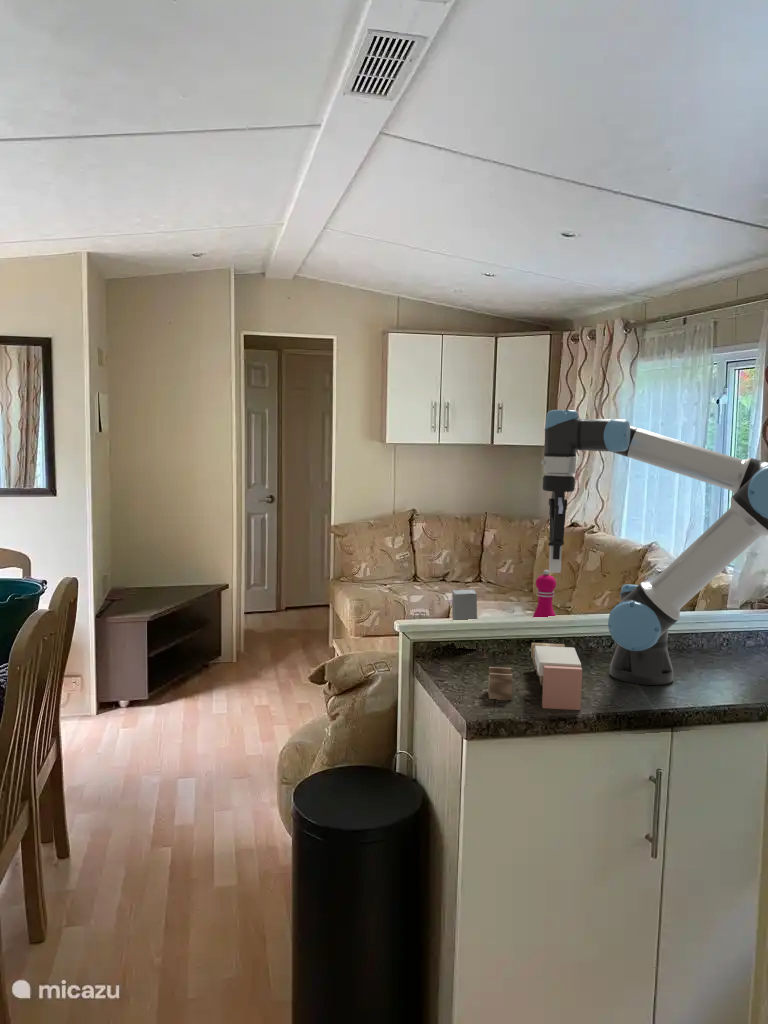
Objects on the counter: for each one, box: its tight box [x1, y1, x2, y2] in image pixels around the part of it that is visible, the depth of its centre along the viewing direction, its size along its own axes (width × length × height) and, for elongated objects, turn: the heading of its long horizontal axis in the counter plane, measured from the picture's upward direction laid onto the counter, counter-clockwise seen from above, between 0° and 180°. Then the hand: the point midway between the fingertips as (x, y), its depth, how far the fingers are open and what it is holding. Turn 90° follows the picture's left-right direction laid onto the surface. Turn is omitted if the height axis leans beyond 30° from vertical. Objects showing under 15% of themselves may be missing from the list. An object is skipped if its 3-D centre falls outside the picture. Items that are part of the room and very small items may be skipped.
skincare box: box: [451, 589, 478, 621], centre depth 228 cm, size 8×7×16 cm
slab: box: [535, 646, 582, 677], centre depth 184 cm, size 9×13×3 cm
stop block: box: [541, 665, 583, 711], centre depth 176 cm, size 8×2×9 cm, turn 85°
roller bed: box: [530, 642, 566, 687], centre depth 192 cm, size 8×30×7 cm, turn 175°
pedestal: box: [487, 666, 514, 701], centre depth 184 cm, size 5×6×6 cm
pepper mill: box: [532, 569, 557, 618], centre depth 243 cm, size 7×7×20 cm
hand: (554, 572), depth 196 cm, fingers closed
